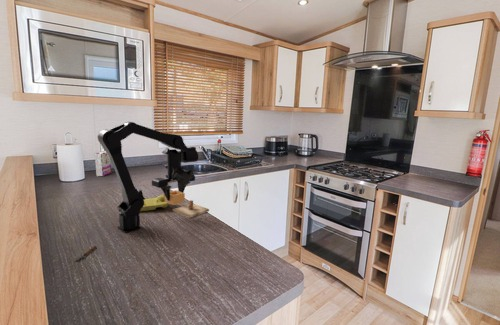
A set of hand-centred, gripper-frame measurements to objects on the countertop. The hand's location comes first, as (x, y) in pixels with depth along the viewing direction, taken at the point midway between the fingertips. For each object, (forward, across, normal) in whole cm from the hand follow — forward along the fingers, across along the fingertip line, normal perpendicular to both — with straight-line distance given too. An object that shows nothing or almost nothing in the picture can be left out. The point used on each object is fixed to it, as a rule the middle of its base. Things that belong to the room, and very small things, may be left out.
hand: (174, 198), depth 117 cm
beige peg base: (+9, +10, +1) cm, 13 cm away
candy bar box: (+9, +14, +101) cm, 102 cm away
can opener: (+9, -38, -6) cm, 40 cm away
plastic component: (+9, 0, +18) cm, 20 cm away
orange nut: (+1, 0, 0) cm, 1 cm away
